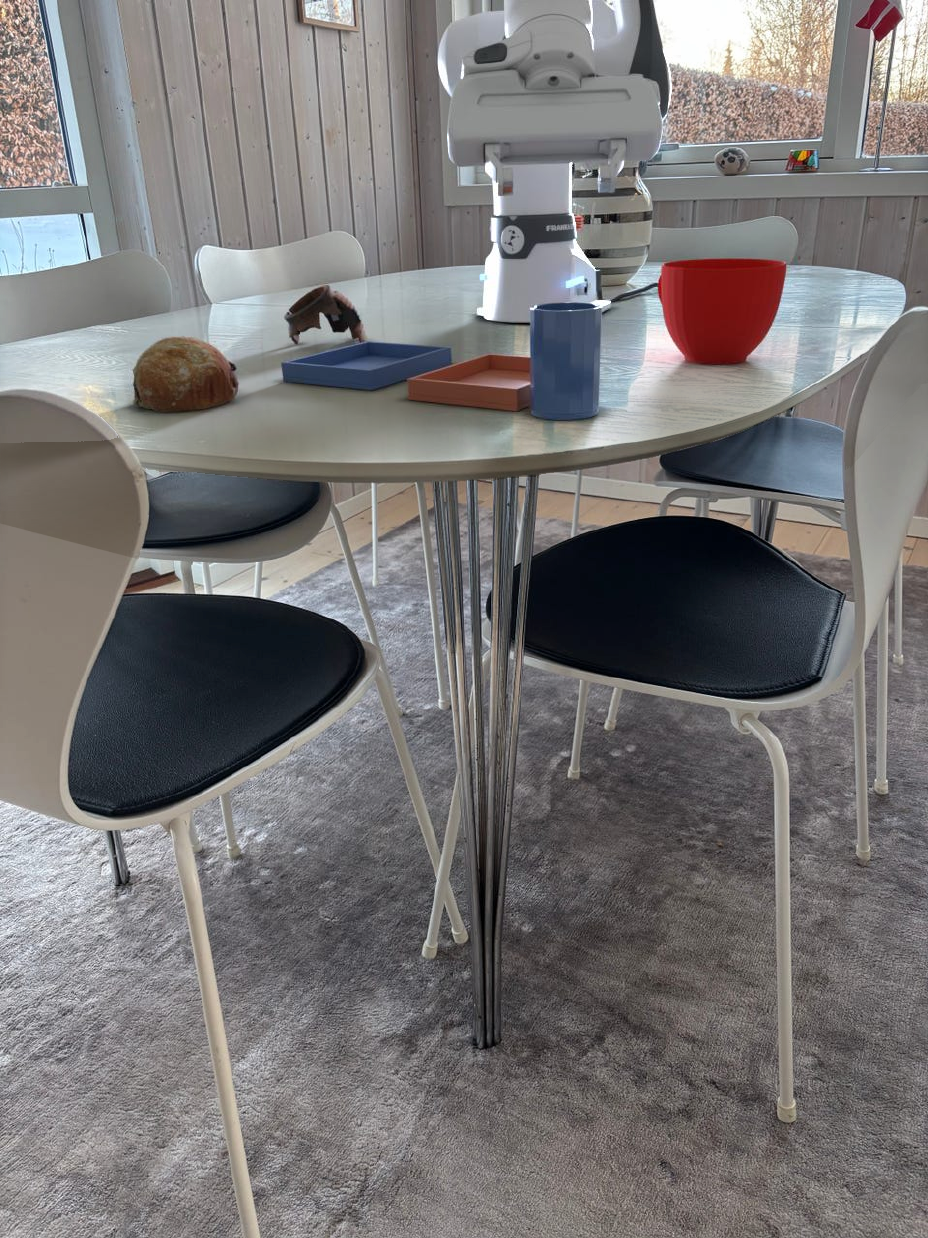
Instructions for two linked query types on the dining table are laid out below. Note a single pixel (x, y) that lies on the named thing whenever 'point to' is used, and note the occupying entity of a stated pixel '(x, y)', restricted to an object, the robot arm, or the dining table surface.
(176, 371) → the bread roll
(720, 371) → the dining table surface
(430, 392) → the terracotta tray
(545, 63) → the robot arm
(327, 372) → the blue tray
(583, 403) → the blue tumbler
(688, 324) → the ceramic cup
